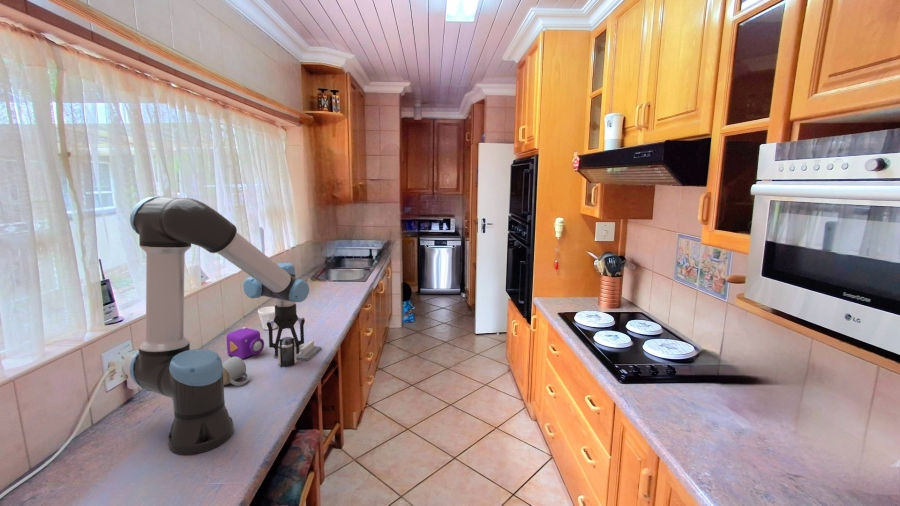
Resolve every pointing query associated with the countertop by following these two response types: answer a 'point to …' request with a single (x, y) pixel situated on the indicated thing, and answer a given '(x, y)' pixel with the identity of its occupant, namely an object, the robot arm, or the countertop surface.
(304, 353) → the mount
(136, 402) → the countertop surface
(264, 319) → the cup
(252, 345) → the toy camera
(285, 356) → the lens
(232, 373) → the ceramic mug
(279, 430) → the countertop surface
